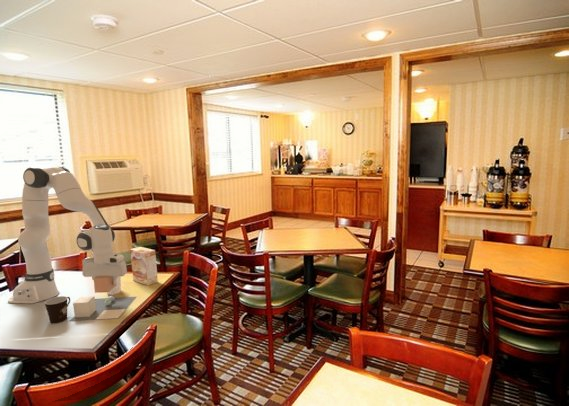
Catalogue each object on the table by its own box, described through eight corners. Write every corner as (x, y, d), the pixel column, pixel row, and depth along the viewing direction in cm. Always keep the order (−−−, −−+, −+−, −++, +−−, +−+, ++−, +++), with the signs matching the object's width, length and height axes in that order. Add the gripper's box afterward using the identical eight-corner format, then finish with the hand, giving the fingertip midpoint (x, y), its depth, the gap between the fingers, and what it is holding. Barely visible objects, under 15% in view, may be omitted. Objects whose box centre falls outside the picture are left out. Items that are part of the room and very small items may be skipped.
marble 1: (103, 306, 170) (103, 301, 169) (106, 304, 173) (105, 298, 172) (109, 306, 170) (109, 300, 169) (112, 303, 173) (111, 298, 172)
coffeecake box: (132, 280, 205) (129, 249, 202) (143, 276, 211) (140, 246, 208) (147, 285, 196) (144, 253, 193) (158, 281, 202) (155, 249, 199)
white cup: (124, 289, 191) (123, 272, 190) (116, 295, 183) (114, 278, 182) (111, 289, 192) (109, 272, 190) (102, 295, 184) (100, 277, 183)
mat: (68, 322, 156) (68, 321, 156) (93, 299, 179) (93, 298, 179) (118, 319, 157) (118, 318, 157) (137, 297, 181) (137, 296, 181)
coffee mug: (53, 327, 151) (50, 306, 150) (44, 322, 156) (41, 301, 154) (80, 316, 161) (77, 296, 160) (70, 312, 166) (68, 292, 164)
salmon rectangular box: (94, 292, 167) (93, 278, 166) (103, 285, 176) (102, 272, 175) (108, 292, 167) (107, 278, 166) (116, 285, 176) (115, 272, 175)
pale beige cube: (74, 317, 159) (72, 303, 158) (81, 310, 166) (80, 297, 165) (89, 316, 160) (87, 302, 159) (96, 310, 166) (94, 296, 165)
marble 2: (107, 303, 174) (106, 297, 173) (109, 300, 177) (109, 295, 176) (113, 302, 174) (112, 297, 173) (115, 300, 177) (115, 294, 176)
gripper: (78, 259, 165) (80, 287, 167) (122, 259, 166) (123, 286, 168) (85, 256, 172) (87, 282, 174) (127, 255, 173) (128, 281, 175)
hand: (105, 284), depth 171 cm, fingers closed on salmon rectangular box, 7 cm apart
